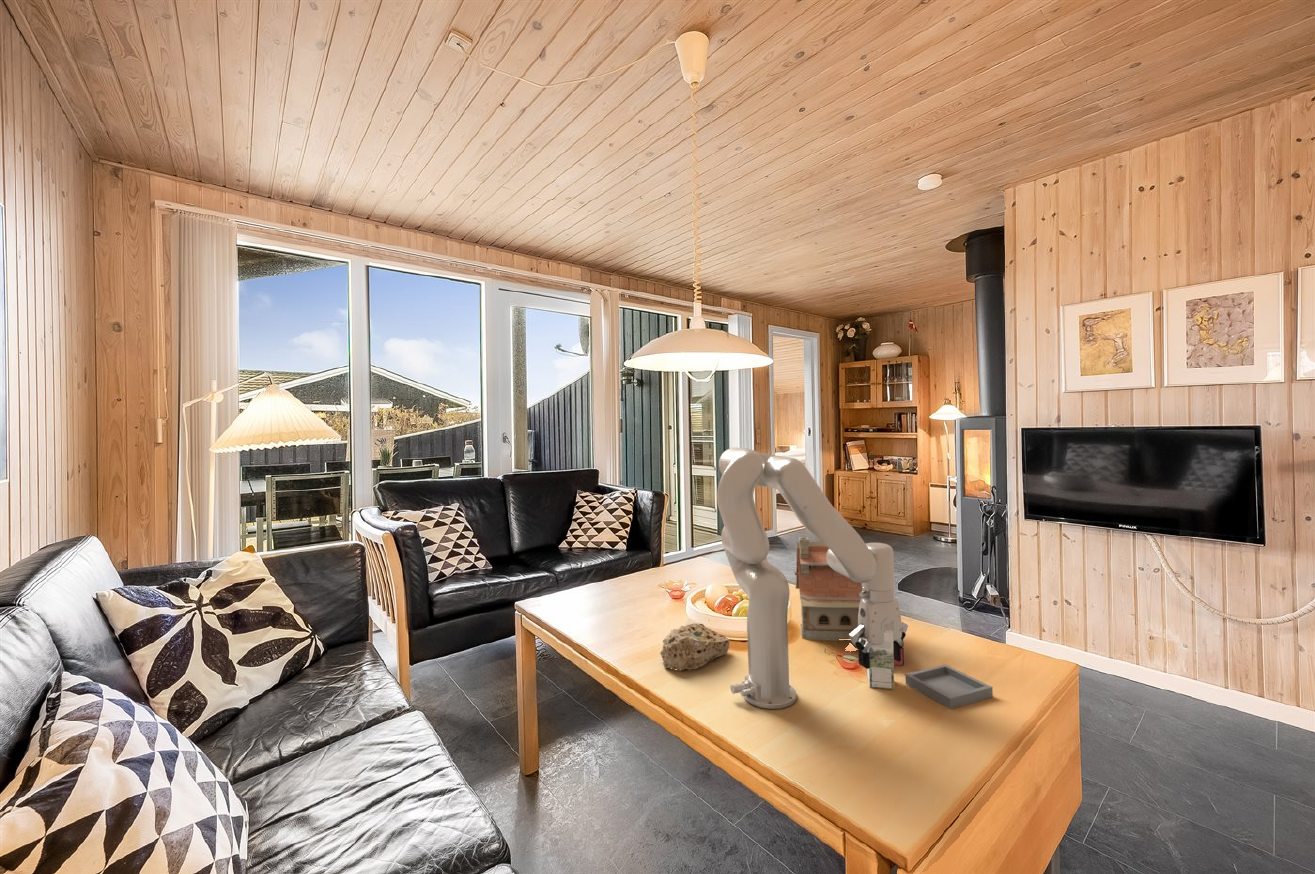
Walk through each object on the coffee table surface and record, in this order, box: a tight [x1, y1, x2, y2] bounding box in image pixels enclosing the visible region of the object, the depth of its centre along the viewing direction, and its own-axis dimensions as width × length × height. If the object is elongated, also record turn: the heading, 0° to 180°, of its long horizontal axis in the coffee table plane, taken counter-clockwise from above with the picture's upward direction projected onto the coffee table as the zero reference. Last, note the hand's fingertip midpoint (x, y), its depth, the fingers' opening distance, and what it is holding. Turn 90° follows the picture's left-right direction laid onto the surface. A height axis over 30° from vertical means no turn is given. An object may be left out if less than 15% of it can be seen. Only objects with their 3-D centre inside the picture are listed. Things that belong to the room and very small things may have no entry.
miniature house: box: [794, 537, 862, 641], centre depth 165 cm, size 18×24×30 cm
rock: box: [660, 623, 731, 672], centre depth 152 cm, size 21×14×10 cm
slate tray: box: [904, 664, 994, 710], centre depth 129 cm, size 13×13×2 cm
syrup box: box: [866, 630, 895, 691], centre depth 133 cm, size 6×6×14 cm
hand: (879, 662), depth 133 cm, fingers open, 9 cm apart
